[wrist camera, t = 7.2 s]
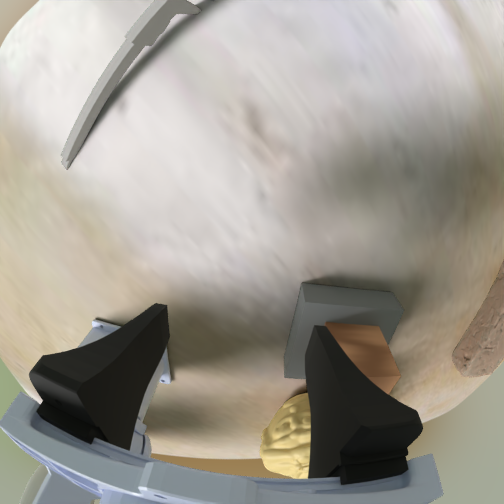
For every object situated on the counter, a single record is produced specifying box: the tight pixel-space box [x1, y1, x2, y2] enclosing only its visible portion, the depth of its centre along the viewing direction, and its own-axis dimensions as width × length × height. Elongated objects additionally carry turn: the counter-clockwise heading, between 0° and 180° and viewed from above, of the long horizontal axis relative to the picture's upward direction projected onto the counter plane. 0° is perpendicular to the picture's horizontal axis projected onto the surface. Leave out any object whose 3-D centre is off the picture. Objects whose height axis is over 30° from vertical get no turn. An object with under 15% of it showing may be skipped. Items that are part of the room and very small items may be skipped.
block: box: [324, 322, 401, 394], centre depth 19 cm, size 5×5×6 cm
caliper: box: [61, 0, 214, 170], centre depth 14 cm, size 20×1×6 cm, turn 133°
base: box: [284, 283, 404, 379], centre depth 23 cm, size 9×9×3 cm
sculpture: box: [260, 393, 311, 479], centre depth 25 cm, size 12×12×11 cm
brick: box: [452, 261, 504, 377], centre depth 21 cm, size 16×8×5 cm, turn 166°
